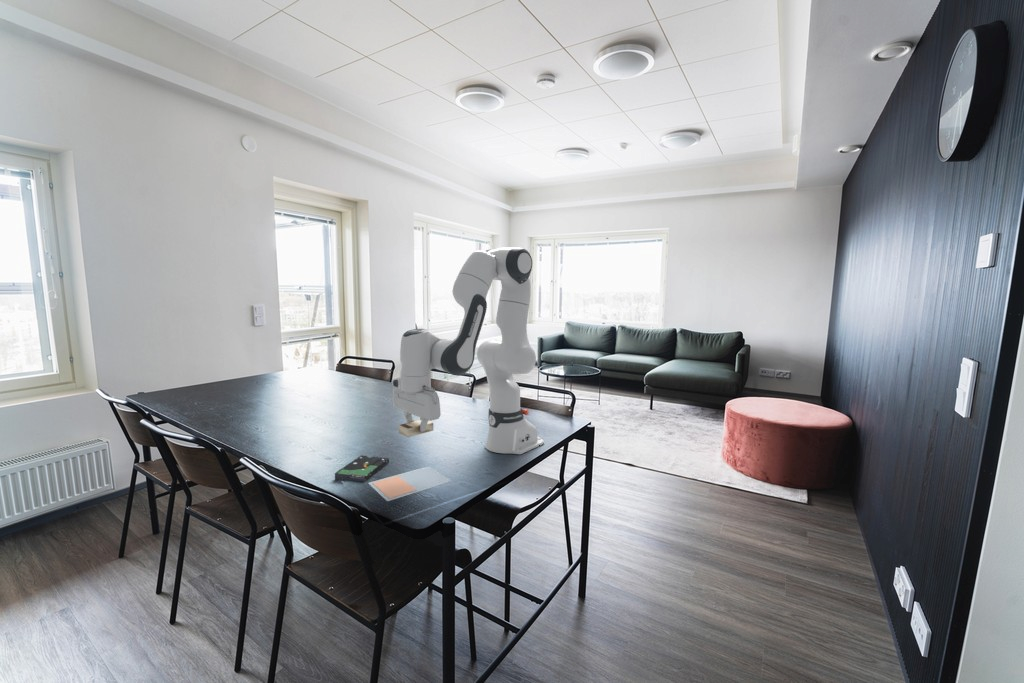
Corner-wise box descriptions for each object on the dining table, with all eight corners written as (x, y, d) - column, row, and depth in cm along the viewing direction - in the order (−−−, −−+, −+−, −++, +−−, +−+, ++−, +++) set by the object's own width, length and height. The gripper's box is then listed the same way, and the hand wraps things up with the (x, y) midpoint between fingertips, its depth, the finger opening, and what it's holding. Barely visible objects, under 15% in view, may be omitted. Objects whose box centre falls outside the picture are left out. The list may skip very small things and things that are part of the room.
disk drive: (360, 463, 143) (334, 481, 128) (360, 455, 142) (334, 472, 128) (389, 465, 141) (366, 485, 126) (389, 457, 140) (365, 475, 126)
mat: (429, 467, 138) (429, 465, 138) (451, 483, 127) (451, 480, 127) (367, 484, 125) (367, 482, 125) (387, 503, 115) (387, 500, 114)
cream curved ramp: (423, 426, 134) (423, 418, 134) (433, 430, 131) (433, 422, 131) (398, 433, 128) (398, 424, 128) (407, 437, 124) (407, 428, 124)
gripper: (445, 387, 123) (445, 434, 124) (406, 377, 137) (406, 419, 139) (427, 390, 118) (427, 439, 120) (388, 379, 132) (389, 423, 134)
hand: (416, 428), depth 129 cm, fingers closed on cream curved ramp, 5 cm apart
